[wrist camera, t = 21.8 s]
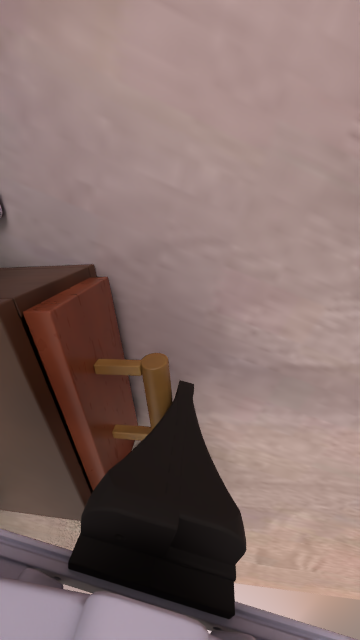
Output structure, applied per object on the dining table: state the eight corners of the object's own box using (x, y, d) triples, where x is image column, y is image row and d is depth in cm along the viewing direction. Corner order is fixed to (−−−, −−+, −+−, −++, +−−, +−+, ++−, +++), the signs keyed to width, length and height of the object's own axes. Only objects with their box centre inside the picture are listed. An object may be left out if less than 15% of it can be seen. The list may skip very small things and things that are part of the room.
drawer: (173, 274, 12) (149, 310, 8) (185, 432, 18) (175, 509, 13) (-68, 281, 15) (-199, 313, 10) (8, 419, 20) (-54, 482, 16)
